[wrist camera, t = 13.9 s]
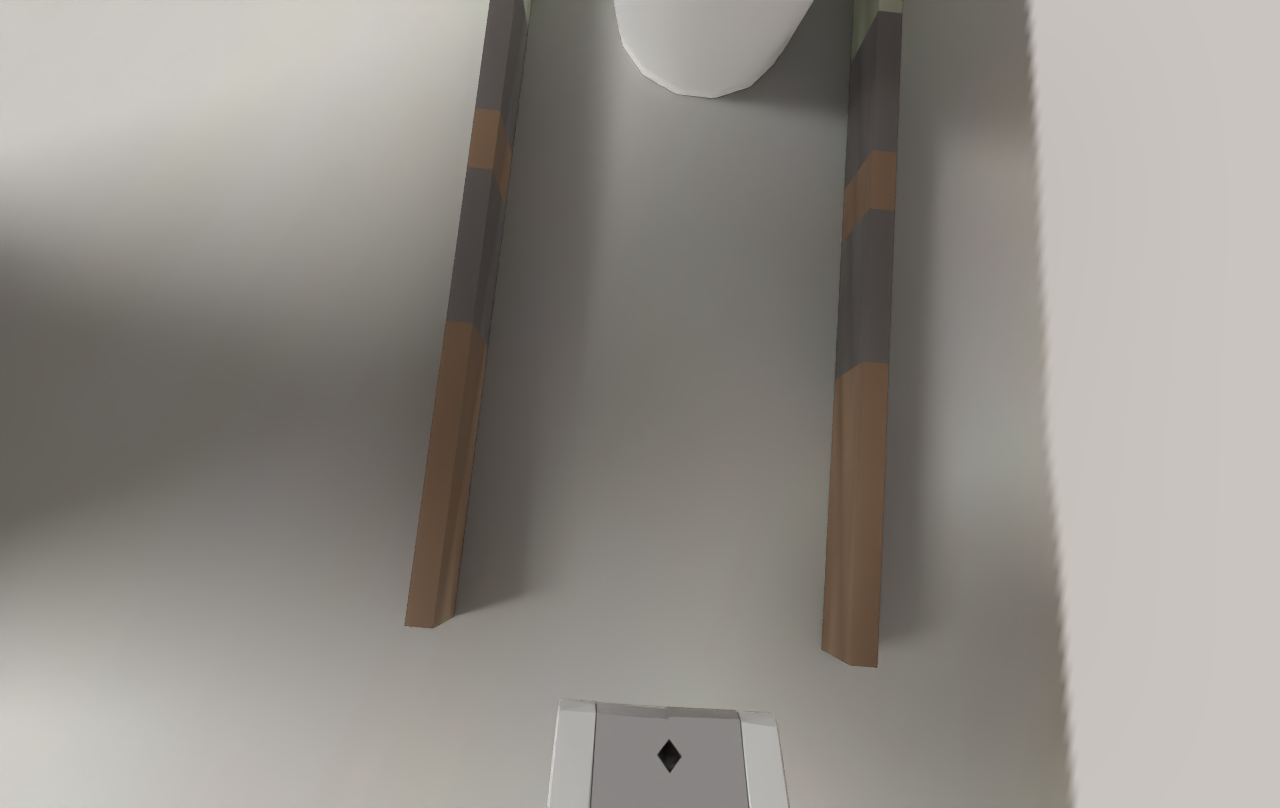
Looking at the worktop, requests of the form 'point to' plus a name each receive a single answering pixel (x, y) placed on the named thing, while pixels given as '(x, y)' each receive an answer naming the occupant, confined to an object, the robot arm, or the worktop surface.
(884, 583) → the worktop surface
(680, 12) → the foam cup
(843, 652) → the channel
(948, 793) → the worktop surface
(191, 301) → the worktop surface
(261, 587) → the worktop surface
